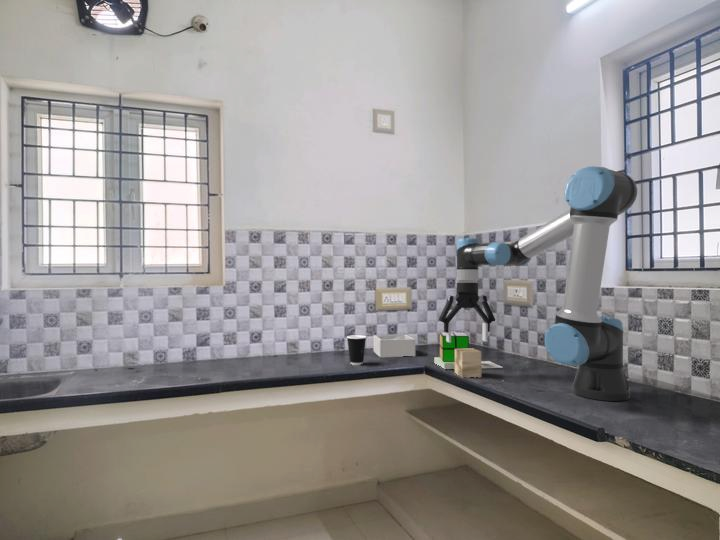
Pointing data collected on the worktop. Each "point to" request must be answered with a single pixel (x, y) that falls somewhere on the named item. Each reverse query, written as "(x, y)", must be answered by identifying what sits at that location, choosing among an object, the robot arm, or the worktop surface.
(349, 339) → the dixie cup
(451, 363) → the base plate
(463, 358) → the oak block
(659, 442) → the worktop surface
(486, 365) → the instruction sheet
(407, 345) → the box
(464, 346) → the puzzle cube
